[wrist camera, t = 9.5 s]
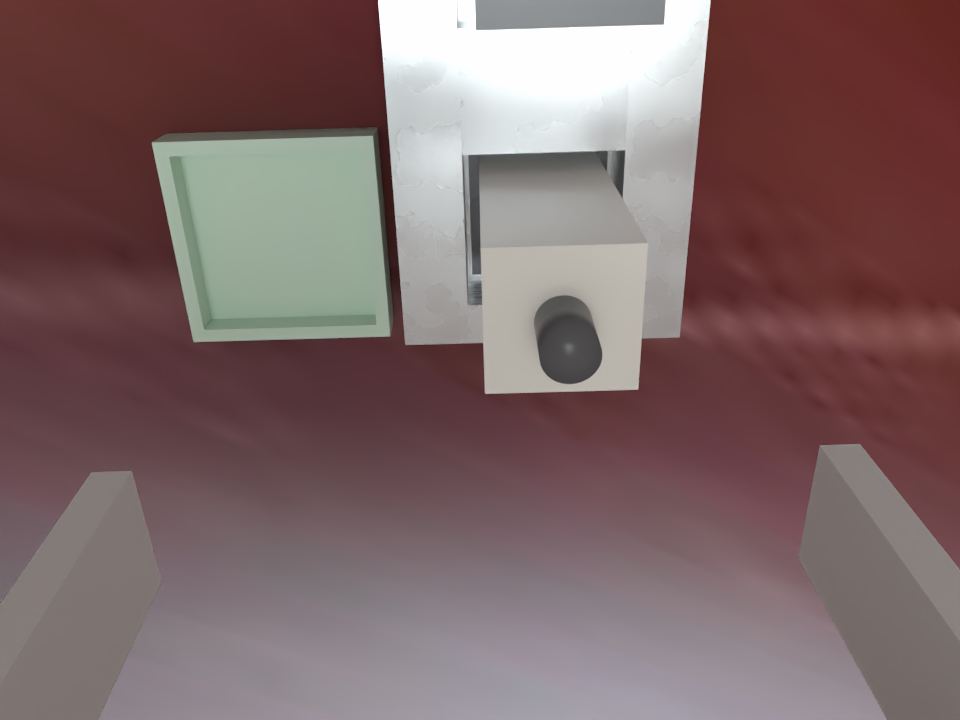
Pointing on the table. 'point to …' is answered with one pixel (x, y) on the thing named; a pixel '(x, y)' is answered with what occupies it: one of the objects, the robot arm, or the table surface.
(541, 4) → the twin plug
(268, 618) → the table surface
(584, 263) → the plug
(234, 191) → the tray
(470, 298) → the metal socket frame
